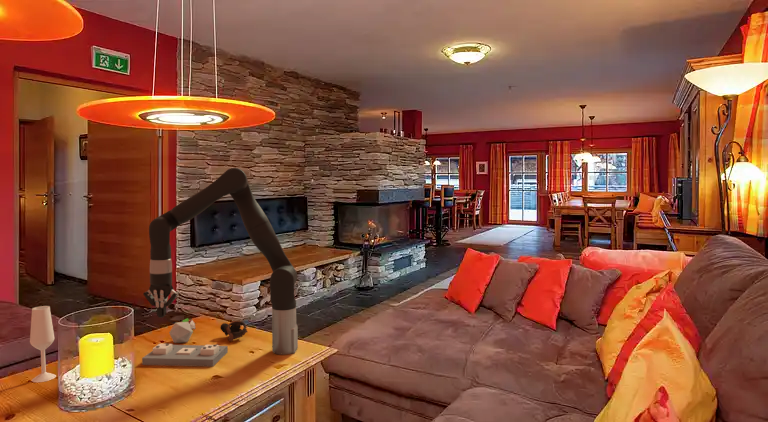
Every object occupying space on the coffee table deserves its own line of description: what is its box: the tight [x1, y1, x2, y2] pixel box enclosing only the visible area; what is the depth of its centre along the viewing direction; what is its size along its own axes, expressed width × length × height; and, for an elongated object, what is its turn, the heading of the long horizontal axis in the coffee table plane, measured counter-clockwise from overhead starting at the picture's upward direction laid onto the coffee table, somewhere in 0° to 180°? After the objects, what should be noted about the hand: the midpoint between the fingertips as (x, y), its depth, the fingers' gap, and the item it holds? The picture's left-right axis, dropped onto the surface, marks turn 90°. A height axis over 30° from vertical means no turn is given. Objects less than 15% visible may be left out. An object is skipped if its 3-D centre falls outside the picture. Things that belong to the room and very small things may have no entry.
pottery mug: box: [219, 320, 248, 342], centre depth 201 cm, size 12×10×8 cm
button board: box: [141, 344, 229, 367], centre depth 178 cm, size 26×14×2 cm, turn 88°
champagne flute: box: [29, 305, 57, 383], centre depth 159 cm, size 7×7×24 cm
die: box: [169, 321, 194, 344], centre depth 196 cm, size 8×9×10 cm
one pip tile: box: [177, 348, 196, 355], centre depth 178 cm, size 5×5×3 cm
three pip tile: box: [200, 344, 220, 355], centre depth 178 cm, size 5×5×3 cm
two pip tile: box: [152, 343, 174, 354], centre depth 178 cm, size 5×5×3 cm
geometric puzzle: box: [181, 317, 197, 332], centre depth 207 cm, size 7×7×8 cm
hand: (161, 316), depth 178 cm, fingers closed
